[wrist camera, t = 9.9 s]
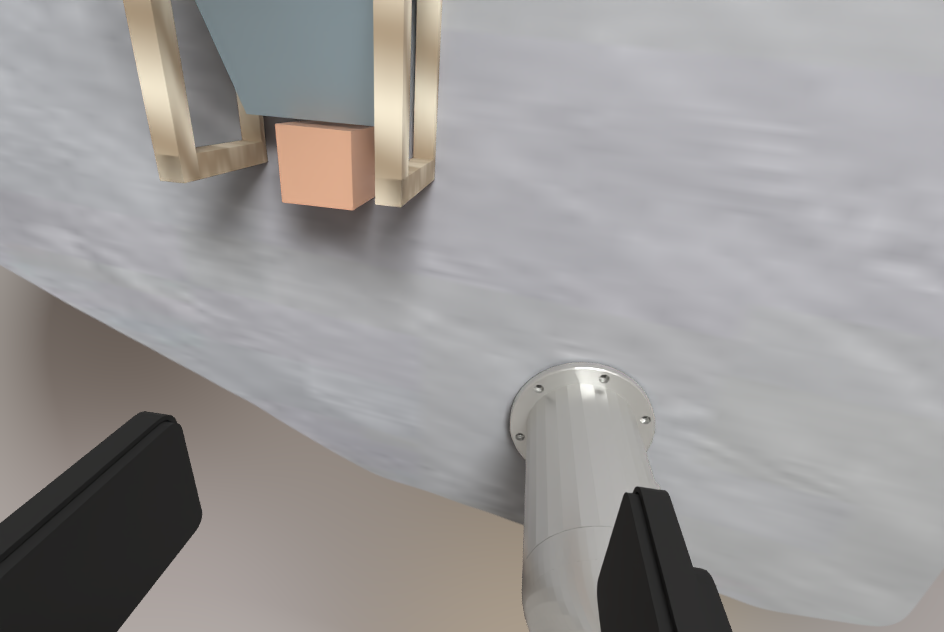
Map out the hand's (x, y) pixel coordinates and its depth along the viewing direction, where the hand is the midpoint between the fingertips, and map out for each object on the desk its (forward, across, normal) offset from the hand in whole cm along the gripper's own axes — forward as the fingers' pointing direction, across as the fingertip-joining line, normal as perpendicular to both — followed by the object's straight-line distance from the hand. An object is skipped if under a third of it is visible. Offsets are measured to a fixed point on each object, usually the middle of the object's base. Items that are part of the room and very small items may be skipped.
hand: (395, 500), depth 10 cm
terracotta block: (+26, +12, -5) cm, 29 cm away
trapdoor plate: (+23, +12, -10) cm, 28 cm away
